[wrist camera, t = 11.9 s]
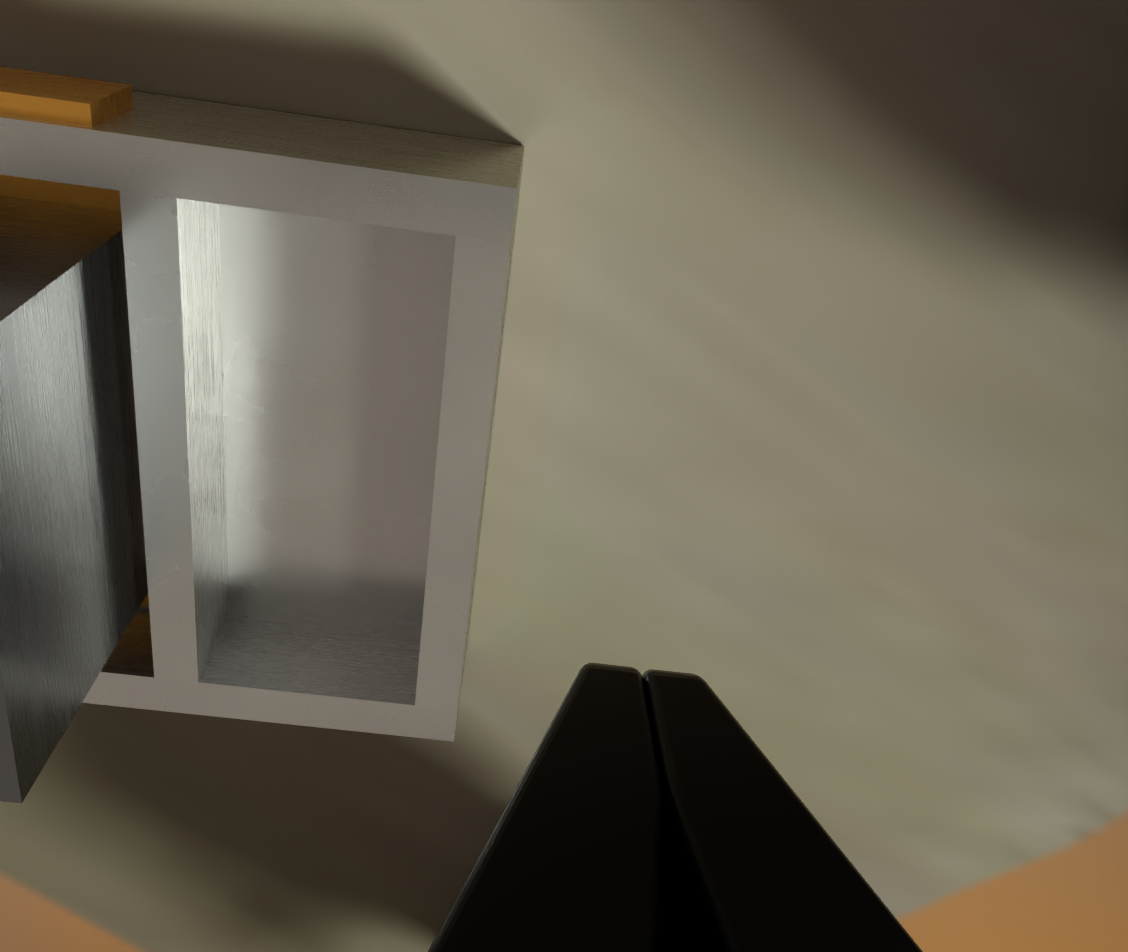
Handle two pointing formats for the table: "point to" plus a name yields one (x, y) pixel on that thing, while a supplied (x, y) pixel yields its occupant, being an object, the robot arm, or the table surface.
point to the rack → (292, 393)
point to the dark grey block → (62, 472)
